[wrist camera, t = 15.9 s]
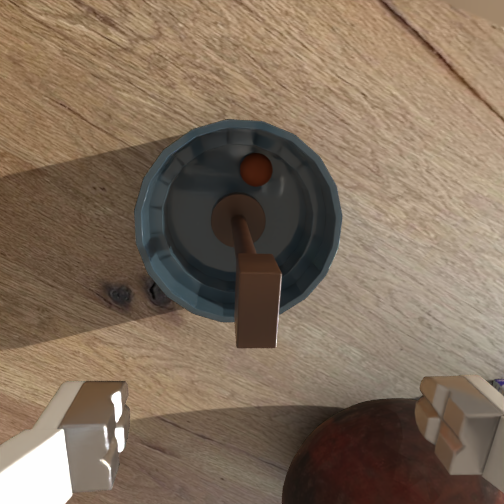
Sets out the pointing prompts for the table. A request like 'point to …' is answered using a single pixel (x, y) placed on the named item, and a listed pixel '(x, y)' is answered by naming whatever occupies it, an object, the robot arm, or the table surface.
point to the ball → (256, 169)
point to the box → (499, 385)
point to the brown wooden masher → (249, 270)
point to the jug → (377, 462)
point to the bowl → (215, 187)
